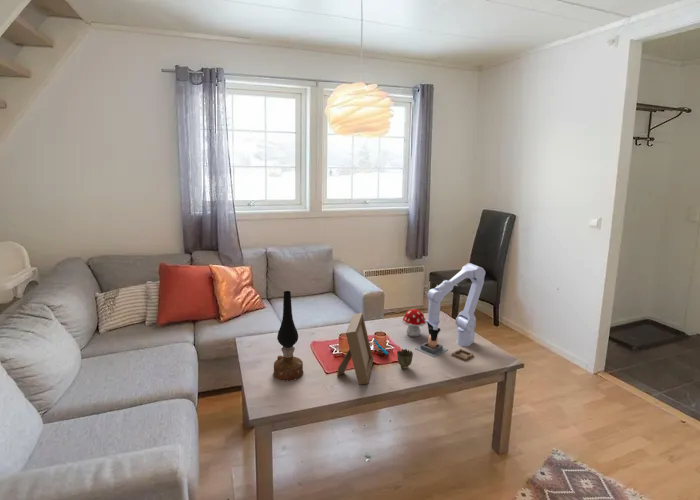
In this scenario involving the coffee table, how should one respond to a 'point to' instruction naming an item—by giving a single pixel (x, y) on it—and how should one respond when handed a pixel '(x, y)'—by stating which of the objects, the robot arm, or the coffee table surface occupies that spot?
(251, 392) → the coffee table surface
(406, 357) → the cup
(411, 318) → the decorative mushroom
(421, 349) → the socket board
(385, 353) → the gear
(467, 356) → the holder
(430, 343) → the peg
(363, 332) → the photo frame
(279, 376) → the oil lamp
